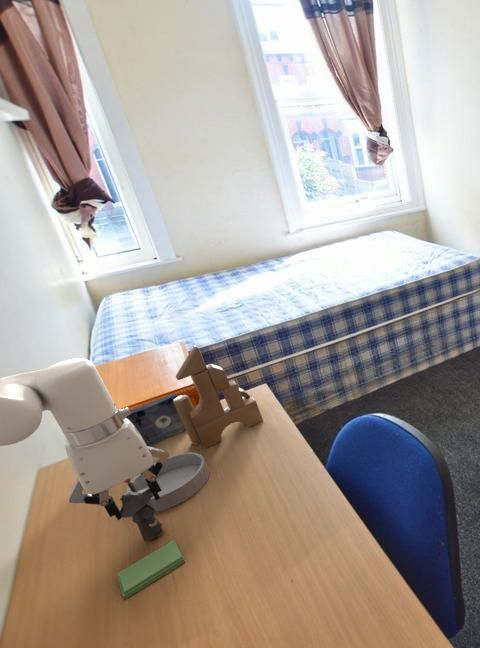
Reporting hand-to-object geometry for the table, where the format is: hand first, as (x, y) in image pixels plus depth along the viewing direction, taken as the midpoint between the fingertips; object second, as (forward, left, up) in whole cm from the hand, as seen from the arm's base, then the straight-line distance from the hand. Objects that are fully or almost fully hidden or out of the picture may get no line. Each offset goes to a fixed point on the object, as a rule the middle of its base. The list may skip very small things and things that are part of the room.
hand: (137, 505), depth 88 cm
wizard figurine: (0, 0, -7) cm, 7 cm away
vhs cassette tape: (+6, +36, -8) cm, 37 cm away
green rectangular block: (-2, -10, -7) cm, 13 cm away
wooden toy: (+21, +24, -8) cm, 33 cm away
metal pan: (+6, +12, -7) cm, 15 cm away
